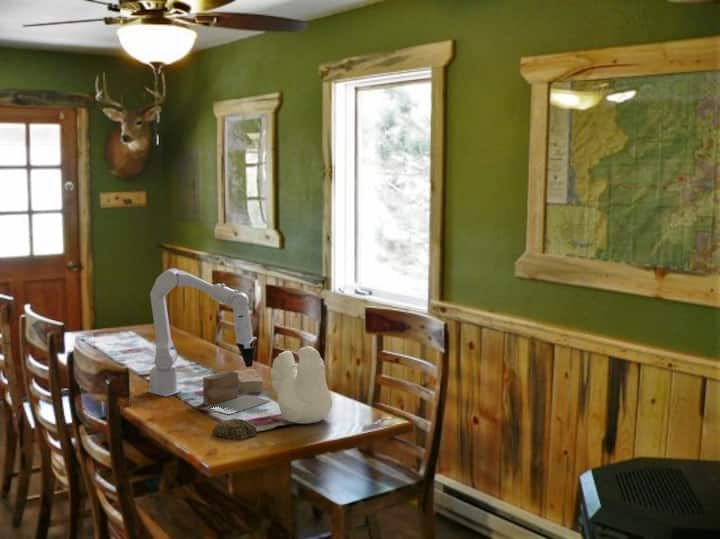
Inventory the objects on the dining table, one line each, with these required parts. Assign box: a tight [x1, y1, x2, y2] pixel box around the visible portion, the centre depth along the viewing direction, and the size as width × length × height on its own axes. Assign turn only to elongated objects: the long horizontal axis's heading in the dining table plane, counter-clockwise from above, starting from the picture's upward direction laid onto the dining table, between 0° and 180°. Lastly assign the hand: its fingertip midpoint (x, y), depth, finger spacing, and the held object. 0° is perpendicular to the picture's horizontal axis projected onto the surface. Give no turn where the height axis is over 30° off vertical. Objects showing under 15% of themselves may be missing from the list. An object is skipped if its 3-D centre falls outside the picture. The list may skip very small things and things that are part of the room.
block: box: [202, 370, 239, 406], centre depth 270 cm, size 4×12×9 cm, turn 145°
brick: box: [233, 368, 264, 394], centre depth 288 cm, size 16×8×5 cm, turn 20°
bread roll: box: [212, 418, 258, 441], centre depth 237 cm, size 13×12×5 cm
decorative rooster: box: [270, 345, 333, 424], centre depth 252 cm, size 25×16×25 cm, turn 33°
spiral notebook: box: [206, 394, 271, 412], centre depth 265 cm, size 11×20×1 cm, turn 145°
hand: (248, 364), depth 277 cm, fingers open, 7 cm apart
